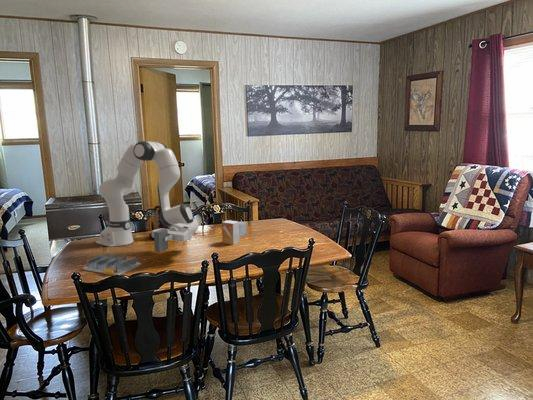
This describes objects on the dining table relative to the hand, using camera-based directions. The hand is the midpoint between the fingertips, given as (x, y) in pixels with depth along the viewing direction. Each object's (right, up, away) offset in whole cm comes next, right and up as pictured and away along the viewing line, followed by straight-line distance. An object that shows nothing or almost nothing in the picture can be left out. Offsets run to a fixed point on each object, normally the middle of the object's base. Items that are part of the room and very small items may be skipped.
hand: (160, 238), depth 199 cm
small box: (+32, -7, +39) cm, 50 cm away
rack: (-23, -14, -2) cm, 27 cm away
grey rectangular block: (0, -6, +1) cm, 6 cm away
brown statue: (-13, -5, +53) cm, 54 cm away
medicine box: (+36, -4, +54) cm, 65 cm away
